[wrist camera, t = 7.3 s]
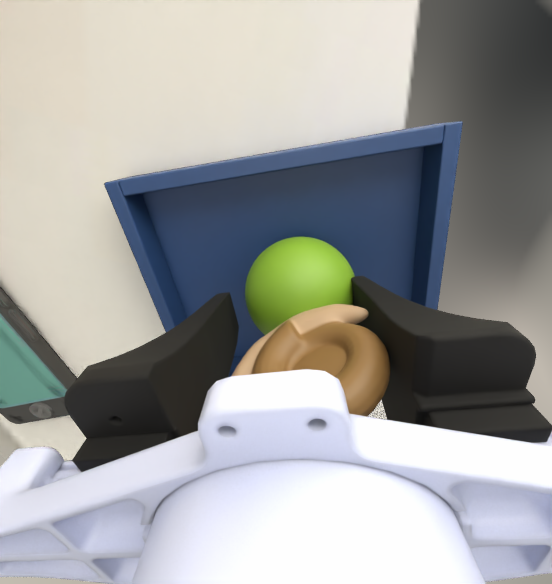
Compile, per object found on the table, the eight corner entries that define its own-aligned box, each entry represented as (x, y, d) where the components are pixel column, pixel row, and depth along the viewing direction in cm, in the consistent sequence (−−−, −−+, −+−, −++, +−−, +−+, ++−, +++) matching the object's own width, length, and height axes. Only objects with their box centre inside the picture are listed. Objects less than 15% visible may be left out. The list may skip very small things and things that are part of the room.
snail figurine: (218, 259, 16) (94, 482, 6) (321, 205, 15) (421, 374, 4) (264, 328, 18) (238, 582, 8) (358, 288, 17) (486, 538, 6)
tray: (436, 123, 13) (463, 120, 11) (415, 341, 19) (430, 365, 17) (127, 177, 15) (102, 183, 13) (198, 363, 21) (188, 387, 19)
